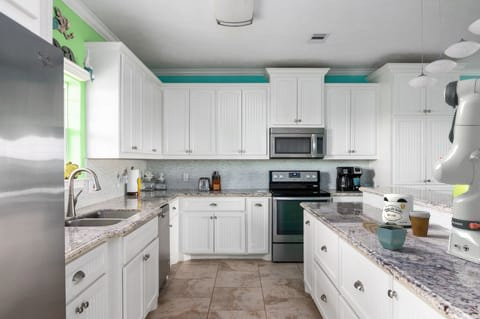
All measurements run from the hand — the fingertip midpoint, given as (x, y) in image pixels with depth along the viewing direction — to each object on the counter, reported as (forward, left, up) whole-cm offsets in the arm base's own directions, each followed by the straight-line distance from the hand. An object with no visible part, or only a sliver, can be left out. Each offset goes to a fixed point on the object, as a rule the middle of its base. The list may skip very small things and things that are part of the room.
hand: (452, 182), depth 158 cm
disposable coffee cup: (-1, +17, -27) cm, 32 cm away
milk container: (+24, +15, -27) cm, 39 cm away
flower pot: (-24, +43, -27) cm, 57 cm away
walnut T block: (+8, +30, -27) cm, 41 cm away
